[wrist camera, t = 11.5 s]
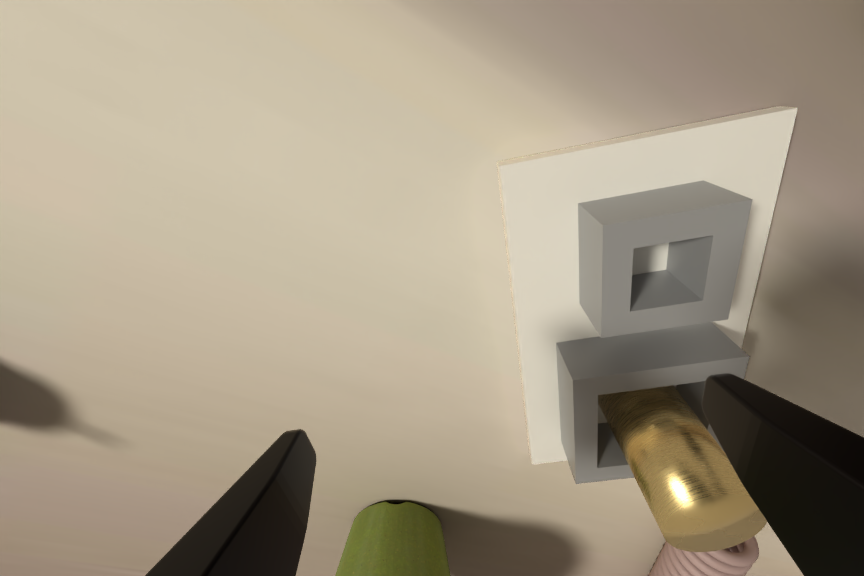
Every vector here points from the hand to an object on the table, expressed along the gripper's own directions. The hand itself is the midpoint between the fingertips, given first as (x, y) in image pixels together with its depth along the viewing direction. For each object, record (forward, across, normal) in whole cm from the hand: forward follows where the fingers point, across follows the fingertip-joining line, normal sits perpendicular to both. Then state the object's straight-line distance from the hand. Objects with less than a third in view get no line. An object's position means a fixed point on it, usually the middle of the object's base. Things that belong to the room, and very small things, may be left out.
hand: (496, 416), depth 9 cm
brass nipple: (+11, -8, +11) cm, 17 cm away
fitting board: (+12, -8, +7) cm, 16 cm away
